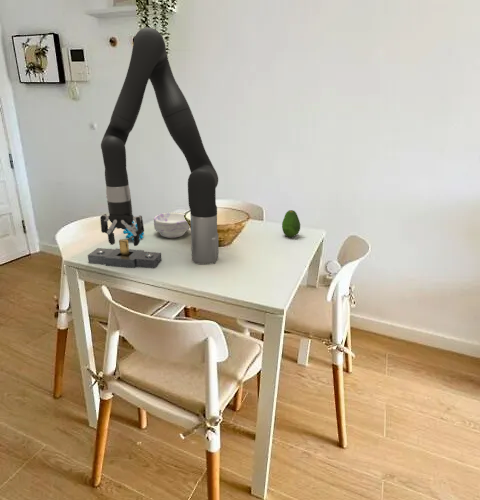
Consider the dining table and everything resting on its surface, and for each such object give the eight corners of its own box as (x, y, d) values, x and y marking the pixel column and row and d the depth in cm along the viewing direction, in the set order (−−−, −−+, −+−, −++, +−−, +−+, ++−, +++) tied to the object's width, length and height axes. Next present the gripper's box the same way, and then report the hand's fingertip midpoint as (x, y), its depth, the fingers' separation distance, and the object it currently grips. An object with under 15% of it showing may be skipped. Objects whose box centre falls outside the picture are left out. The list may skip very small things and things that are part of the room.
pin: (131, 260, 128) (129, 239, 125) (127, 263, 125) (125, 242, 122) (123, 259, 128) (121, 238, 126) (119, 263, 126) (117, 241, 123)
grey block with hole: (162, 259, 130) (161, 250, 128) (153, 269, 121) (152, 260, 120) (100, 254, 132) (98, 245, 131) (87, 264, 124) (85, 254, 123)
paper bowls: (187, 240, 148) (186, 222, 146) (150, 239, 149) (149, 221, 146) (192, 229, 163) (192, 212, 160) (159, 228, 163) (158, 211, 160)
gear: (131, 241, 142) (118, 220, 143) (123, 249, 145) (111, 229, 146) (150, 237, 151) (138, 218, 153) (143, 244, 154) (131, 225, 156)
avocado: (277, 235, 158) (279, 209, 153) (292, 233, 161) (294, 207, 157) (288, 241, 151) (290, 213, 147) (303, 238, 155) (305, 211, 150)
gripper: (144, 197, 121) (148, 242, 127) (103, 195, 122) (109, 240, 128) (135, 202, 114) (140, 249, 120) (93, 200, 115) (99, 247, 121)
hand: (124, 244), depth 124 cm, fingers open, 8 cm apart
